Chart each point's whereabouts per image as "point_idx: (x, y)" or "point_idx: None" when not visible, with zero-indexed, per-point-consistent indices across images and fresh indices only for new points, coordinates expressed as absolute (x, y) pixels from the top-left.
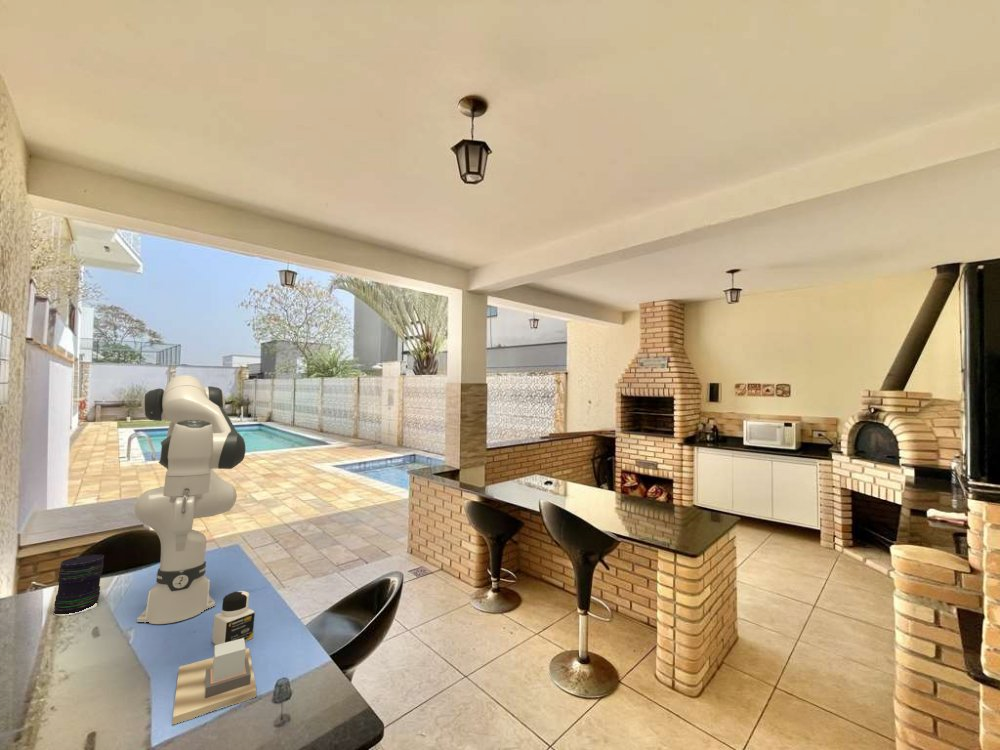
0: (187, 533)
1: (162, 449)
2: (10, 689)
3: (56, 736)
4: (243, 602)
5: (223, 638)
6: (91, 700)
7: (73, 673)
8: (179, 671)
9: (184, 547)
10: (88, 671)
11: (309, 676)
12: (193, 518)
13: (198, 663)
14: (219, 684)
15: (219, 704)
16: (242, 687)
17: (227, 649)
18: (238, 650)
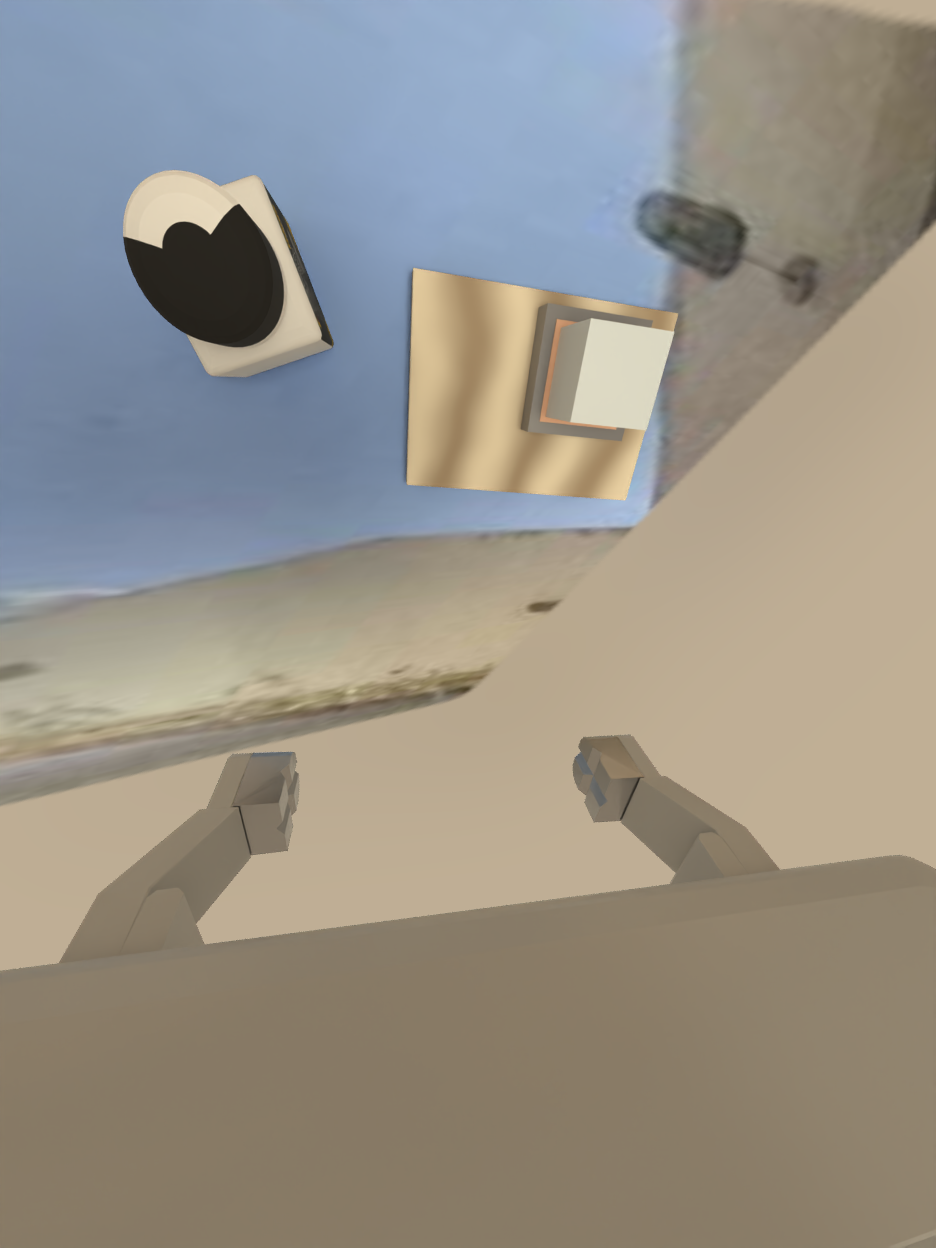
0: (272, 803)
1: None
2: (274, 740)
3: (501, 649)
4: (263, 235)
5: (318, 349)
6: (412, 625)
7: (260, 671)
8: (435, 484)
9: (639, 749)
10: (267, 649)
11: (704, 111)
12: (441, 997)
13: (422, 437)
14: None
15: None
16: None
17: (631, 389)
18: (665, 357)
